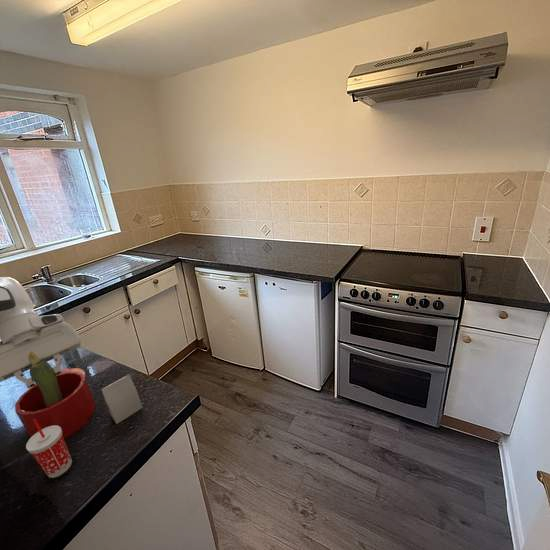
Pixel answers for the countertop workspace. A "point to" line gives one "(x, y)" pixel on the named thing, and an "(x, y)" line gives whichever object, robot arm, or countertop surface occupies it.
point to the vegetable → (45, 380)
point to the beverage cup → (50, 450)
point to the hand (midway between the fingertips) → (45, 379)
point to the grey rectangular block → (122, 399)
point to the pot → (58, 406)
